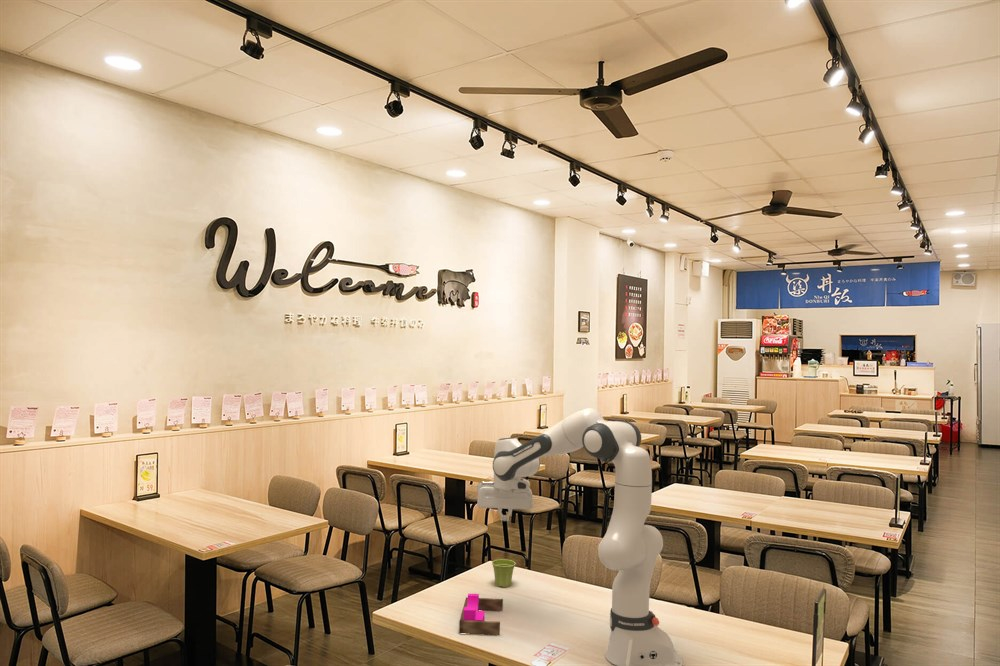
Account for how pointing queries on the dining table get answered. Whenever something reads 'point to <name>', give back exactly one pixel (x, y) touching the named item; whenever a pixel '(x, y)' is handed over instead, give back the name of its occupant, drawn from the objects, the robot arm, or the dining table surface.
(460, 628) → the walnut bay
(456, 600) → the dining table surface
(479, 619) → the toy block
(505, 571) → the plant pot
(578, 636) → the dining table surface
